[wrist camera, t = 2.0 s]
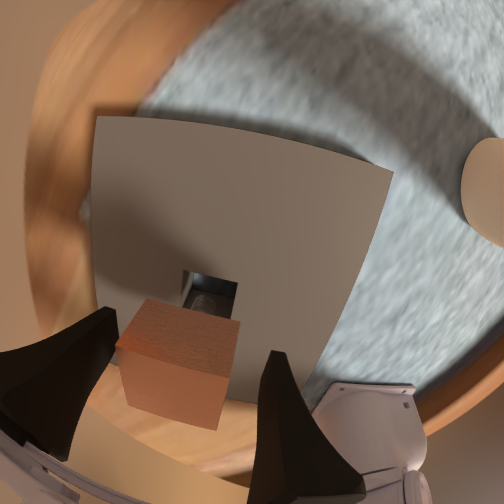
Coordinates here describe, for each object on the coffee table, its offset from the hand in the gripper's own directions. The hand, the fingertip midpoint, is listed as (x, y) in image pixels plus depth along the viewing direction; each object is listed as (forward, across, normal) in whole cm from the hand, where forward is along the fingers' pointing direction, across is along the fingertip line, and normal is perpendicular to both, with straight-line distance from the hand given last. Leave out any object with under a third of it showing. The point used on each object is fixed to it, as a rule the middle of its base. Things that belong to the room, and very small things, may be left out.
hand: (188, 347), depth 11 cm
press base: (+7, 0, 0) cm, 7 cm away
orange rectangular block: (+4, 0, 0) cm, 4 cm away
